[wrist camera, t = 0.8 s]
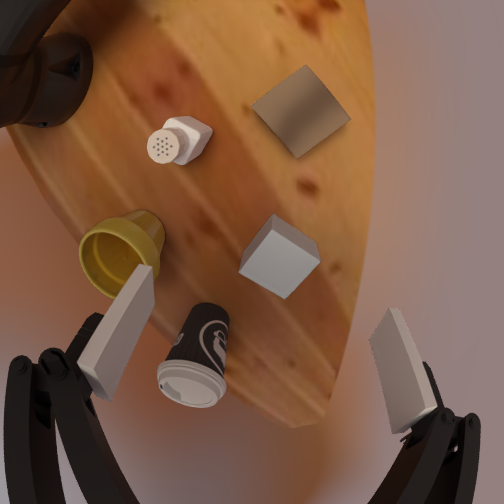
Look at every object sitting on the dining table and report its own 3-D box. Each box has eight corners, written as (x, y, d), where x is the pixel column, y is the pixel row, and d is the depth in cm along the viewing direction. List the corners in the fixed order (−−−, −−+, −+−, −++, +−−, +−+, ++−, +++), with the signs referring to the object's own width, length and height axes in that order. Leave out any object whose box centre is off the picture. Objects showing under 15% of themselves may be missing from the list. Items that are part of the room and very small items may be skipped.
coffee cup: (195, 285, 40) (163, 362, 27) (249, 313, 42) (237, 394, 29) (174, 320, 45) (145, 390, 32) (222, 344, 47) (206, 416, 34)
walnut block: (254, 107, 28) (250, 106, 23) (301, 71, 25) (306, 64, 21) (294, 151, 30) (297, 159, 25) (340, 117, 27) (351, 119, 23)
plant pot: (146, 273, 40) (119, 314, 32) (103, 223, 37) (66, 256, 28) (192, 241, 37) (168, 283, 28) (145, 183, 33) (105, 210, 25)
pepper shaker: (199, 157, 31) (171, 176, 23) (172, 142, 30) (136, 156, 22) (216, 129, 29) (191, 137, 21) (187, 114, 28) (154, 117, 20)
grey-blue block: (243, 252, 37) (238, 272, 33) (272, 212, 34) (271, 229, 30) (284, 277, 39) (285, 299, 34) (315, 241, 35) (320, 261, 31)
